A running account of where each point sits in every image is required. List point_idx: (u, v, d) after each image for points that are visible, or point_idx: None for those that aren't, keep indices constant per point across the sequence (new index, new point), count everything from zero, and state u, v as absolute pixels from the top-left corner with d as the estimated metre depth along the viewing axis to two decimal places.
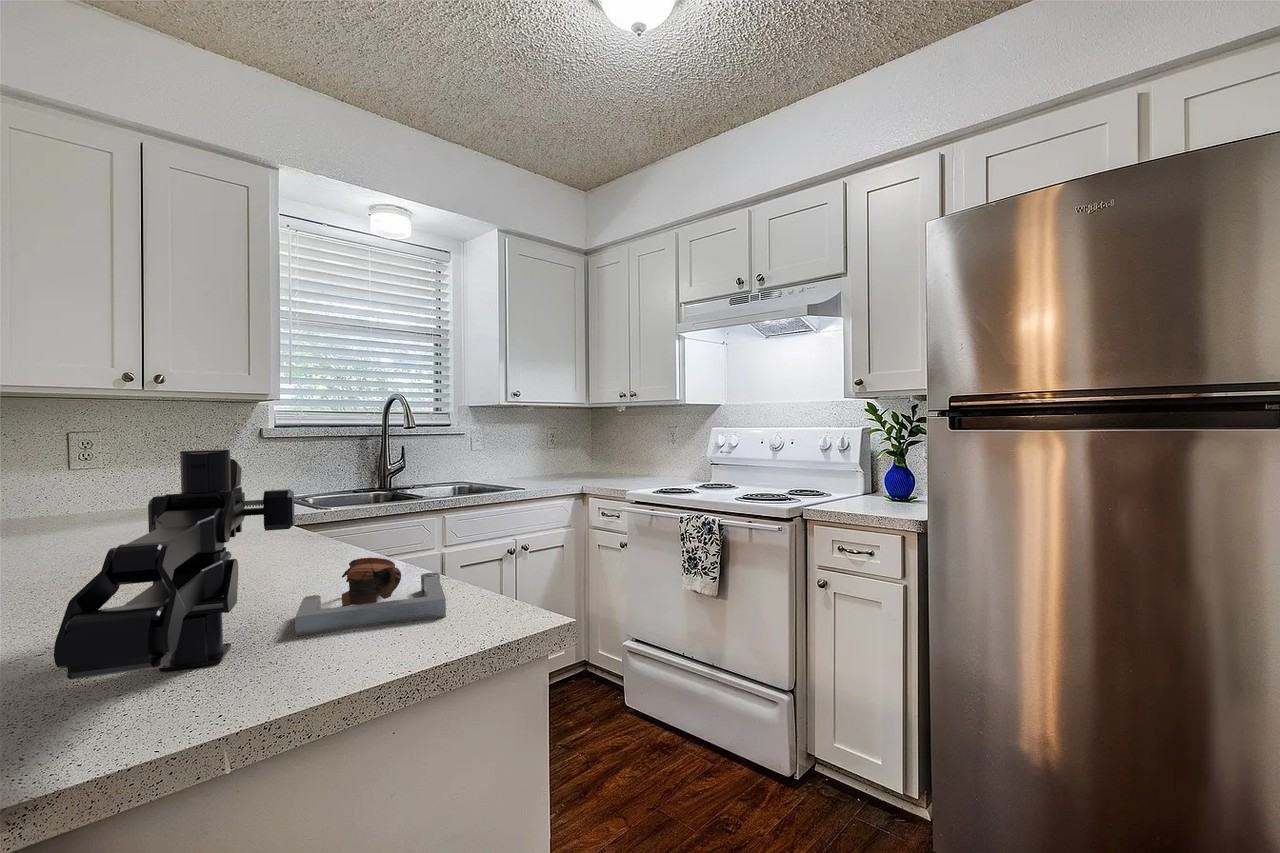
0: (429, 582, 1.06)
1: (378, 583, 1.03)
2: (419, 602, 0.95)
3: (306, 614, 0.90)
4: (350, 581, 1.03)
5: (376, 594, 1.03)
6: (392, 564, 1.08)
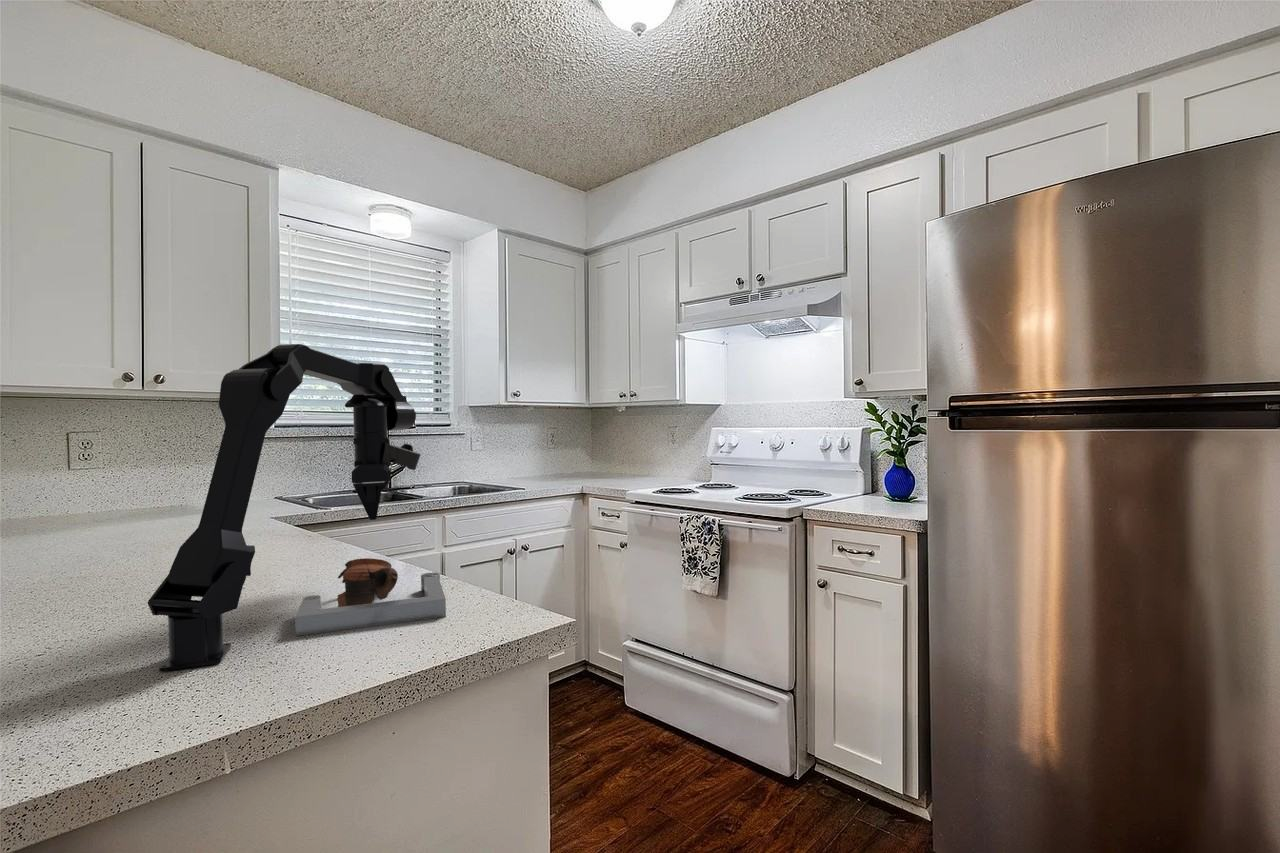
0: (429, 582, 1.06)
1: (375, 584, 1.03)
2: (419, 602, 0.95)
3: (306, 614, 0.90)
4: (346, 582, 1.02)
5: (372, 595, 1.02)
6: (388, 565, 1.08)
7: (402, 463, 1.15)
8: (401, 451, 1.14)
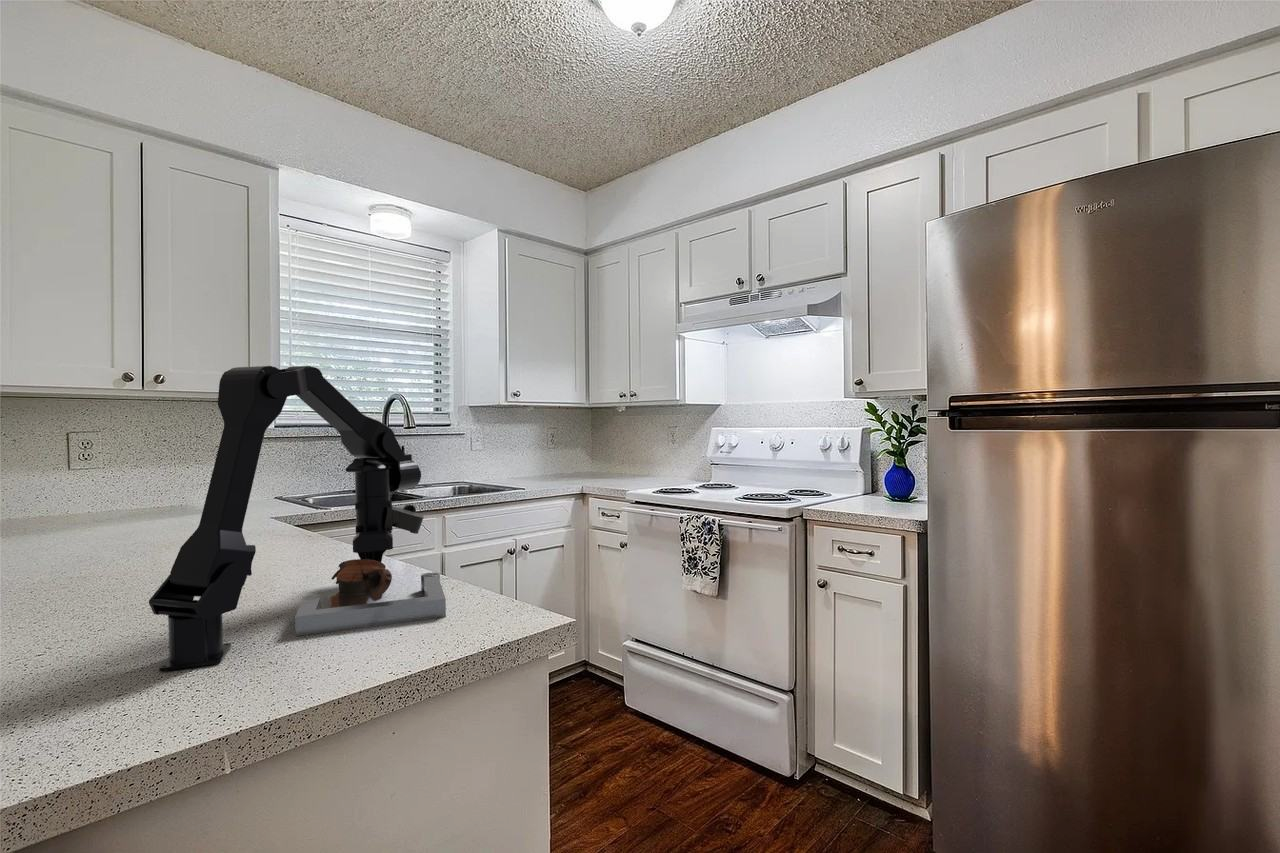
0: (429, 582, 1.06)
1: (369, 585, 1.02)
2: (419, 602, 0.95)
3: (306, 614, 0.90)
4: (340, 583, 1.01)
5: (366, 596, 1.01)
6: (382, 566, 1.07)
7: (404, 527, 1.12)
8: (404, 515, 1.12)
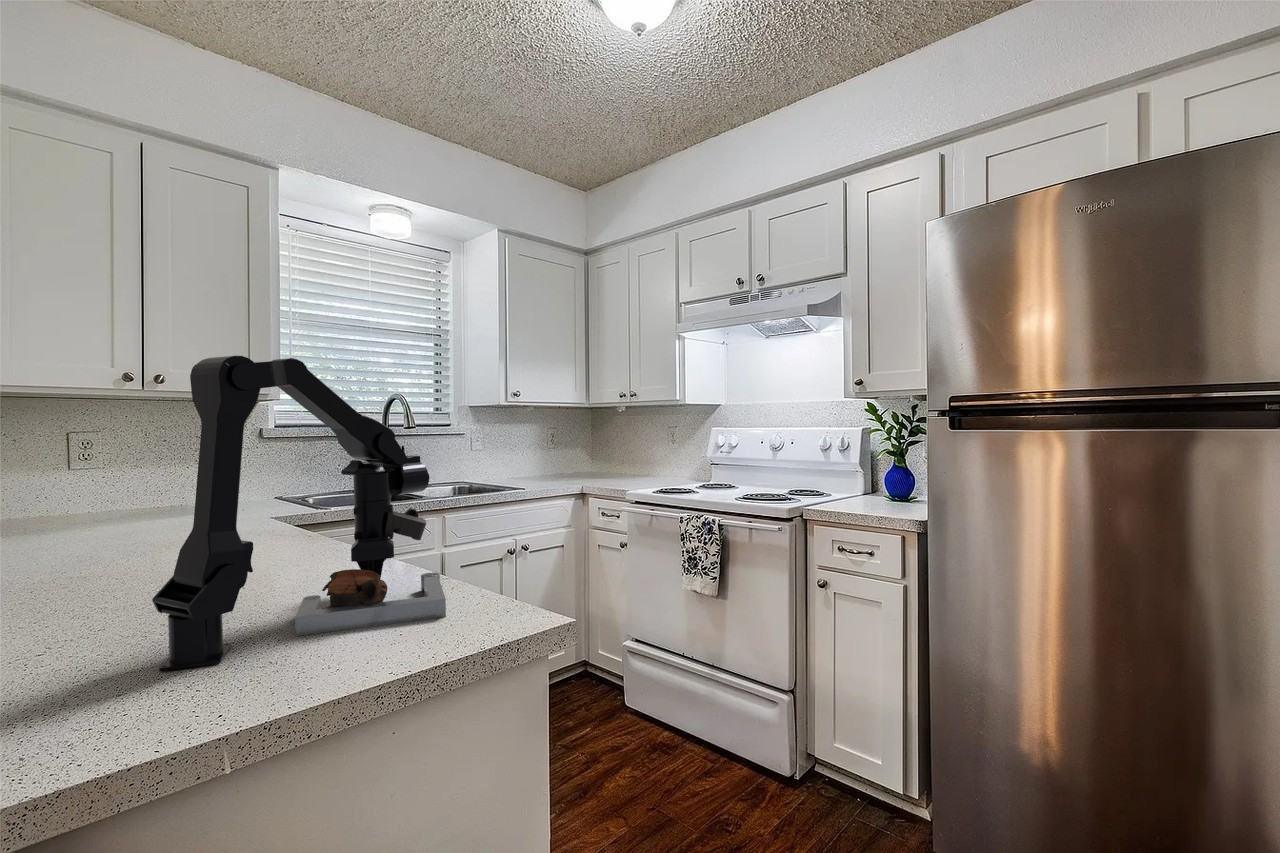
0: (429, 582, 1.06)
1: (362, 597, 0.96)
2: (419, 602, 0.95)
3: (306, 614, 0.90)
4: (331, 595, 0.95)
5: None
6: (377, 576, 1.01)
7: (406, 533, 1.05)
8: (405, 520, 1.05)
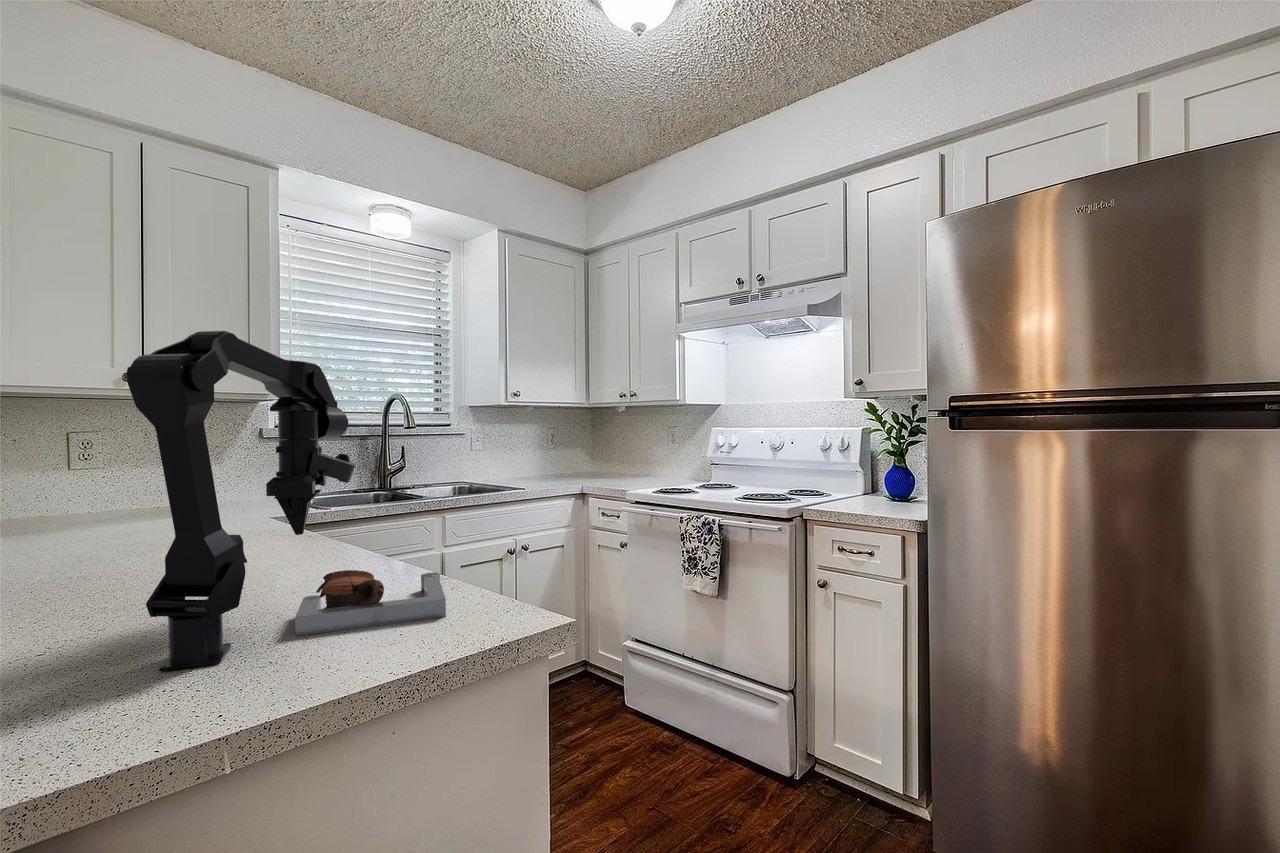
0: (429, 582, 1.06)
1: (359, 598, 0.95)
2: (419, 602, 0.95)
3: (306, 614, 0.90)
4: (327, 597, 0.94)
5: None
6: (371, 576, 1.00)
7: (332, 475, 1.02)
8: (331, 461, 1.02)
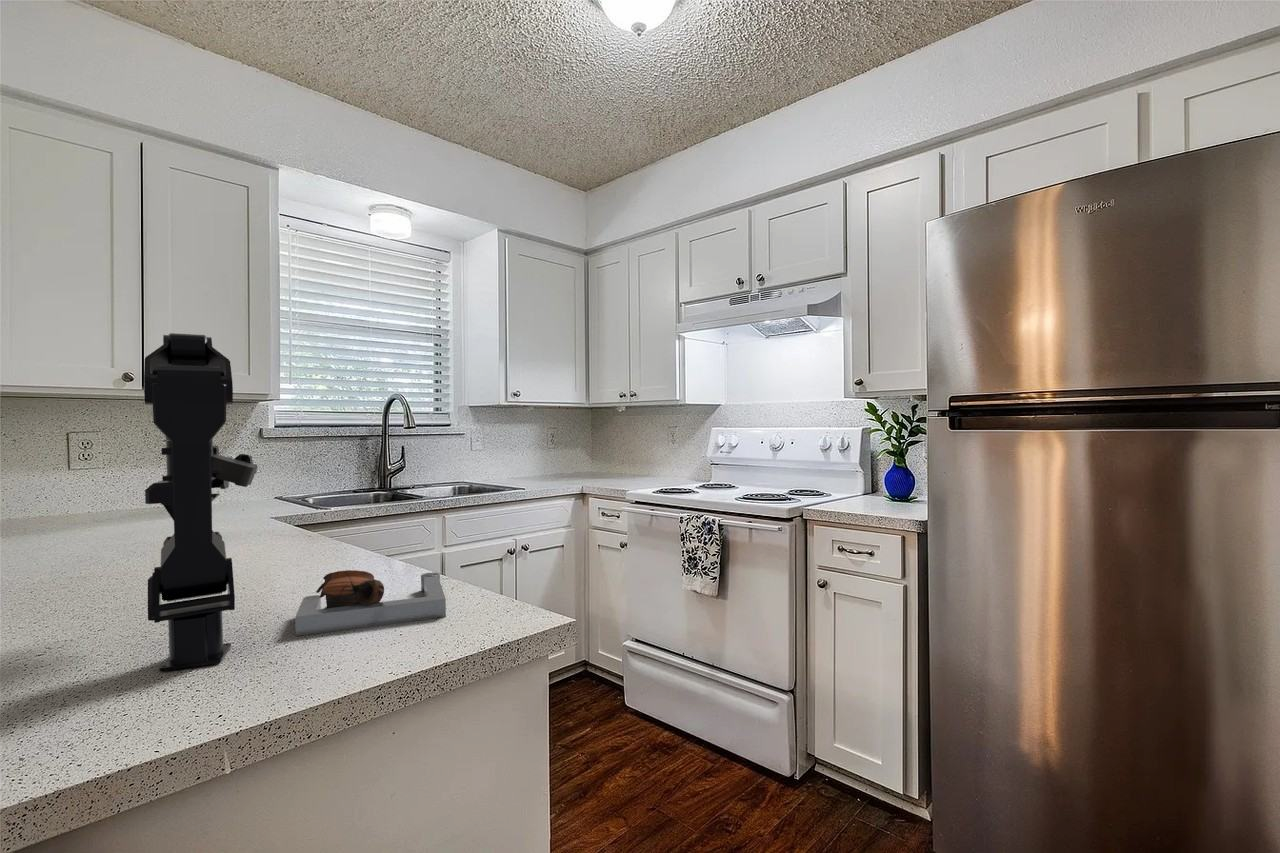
0: (429, 582, 1.06)
1: (359, 598, 0.95)
2: (419, 602, 0.95)
3: (306, 614, 0.90)
4: (327, 597, 0.94)
5: None
6: (372, 577, 1.00)
7: (228, 478, 0.93)
8: (226, 463, 0.93)
